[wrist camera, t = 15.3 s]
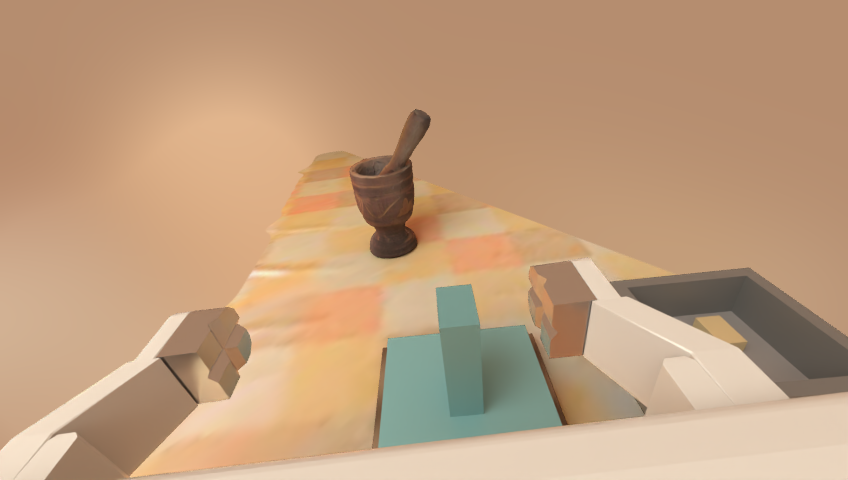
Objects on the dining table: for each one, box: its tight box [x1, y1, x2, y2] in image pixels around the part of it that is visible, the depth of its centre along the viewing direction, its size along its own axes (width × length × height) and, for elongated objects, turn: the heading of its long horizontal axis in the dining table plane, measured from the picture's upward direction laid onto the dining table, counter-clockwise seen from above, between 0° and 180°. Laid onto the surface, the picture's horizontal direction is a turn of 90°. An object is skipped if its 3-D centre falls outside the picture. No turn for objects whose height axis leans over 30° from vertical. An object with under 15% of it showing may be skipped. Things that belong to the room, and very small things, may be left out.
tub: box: [610, 268, 848, 414], centre depth 28 cm, size 12×12×7 cm
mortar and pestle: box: [350, 109, 431, 258], centre depth 50 cm, size 12×9×20 cm
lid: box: [378, 284, 562, 448], centre depth 26 cm, size 13×13×11 cm
